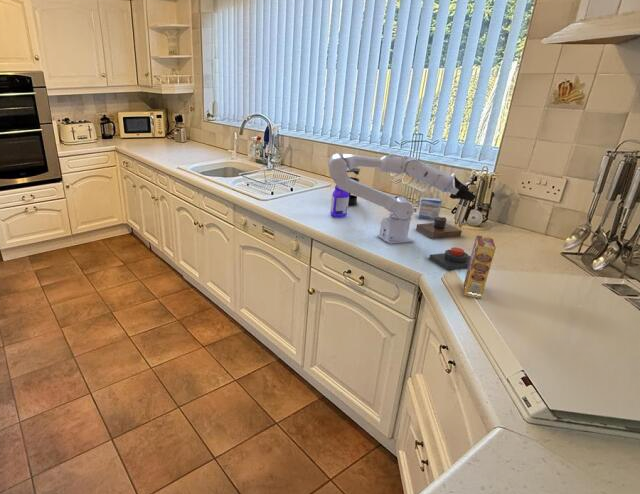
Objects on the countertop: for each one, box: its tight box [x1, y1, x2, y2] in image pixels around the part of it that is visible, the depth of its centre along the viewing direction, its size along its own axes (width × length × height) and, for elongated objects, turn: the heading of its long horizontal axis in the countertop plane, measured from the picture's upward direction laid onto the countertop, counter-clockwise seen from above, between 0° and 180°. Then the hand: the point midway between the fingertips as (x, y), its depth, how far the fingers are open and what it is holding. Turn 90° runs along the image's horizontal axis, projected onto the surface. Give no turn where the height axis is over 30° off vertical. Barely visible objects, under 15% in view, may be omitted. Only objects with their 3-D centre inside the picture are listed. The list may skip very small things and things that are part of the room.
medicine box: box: [417, 196, 443, 221], centre depth 169 cm, size 8×4×9 cm, turn 68°
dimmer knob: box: [433, 216, 447, 229], centre depth 152 cm, size 4×4×4 cm
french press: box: [347, 167, 361, 207], centre depth 188 cm, size 12×9×23 cm
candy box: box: [463, 235, 496, 300], centre depth 109 cm, size 9×4×15 cm, turn 151°
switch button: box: [450, 246, 465, 256], centre depth 127 cm, size 4×4×2 cm
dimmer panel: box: [415, 222, 463, 240], centre depth 153 cm, size 12×10×3 cm
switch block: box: [428, 249, 471, 272], centre depth 128 cm, size 12×9×4 cm
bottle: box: [329, 184, 349, 219], centre depth 171 cm, size 7×6×17 cm
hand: (470, 194), depth 137 cm, fingers open, 7 cm apart
